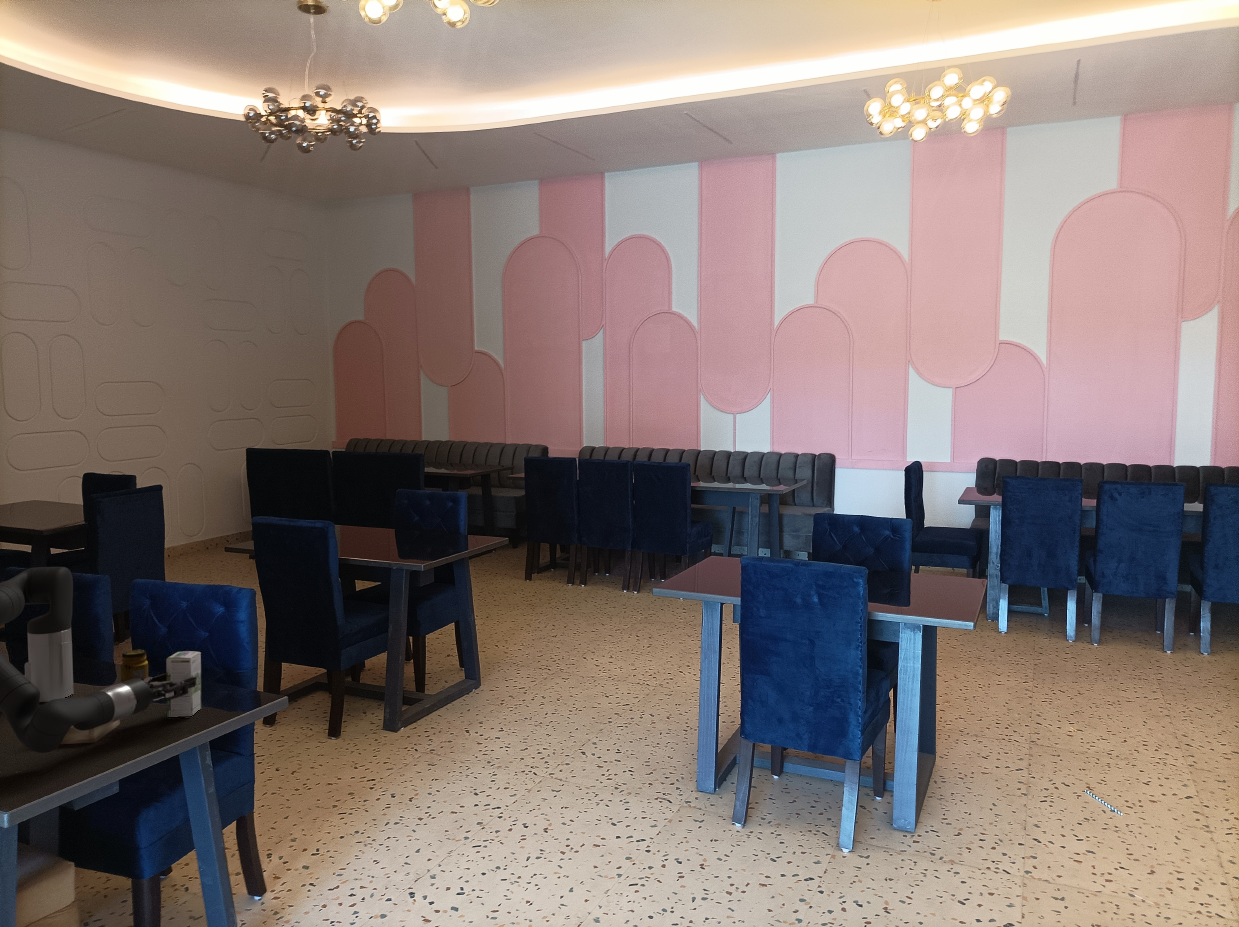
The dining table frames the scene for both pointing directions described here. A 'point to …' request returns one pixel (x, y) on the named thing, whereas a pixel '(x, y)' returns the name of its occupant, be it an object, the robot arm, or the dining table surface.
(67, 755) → the dining table surface
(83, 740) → the wooden tray
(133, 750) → the dining table surface
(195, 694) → the syrup box
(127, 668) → the condiment
